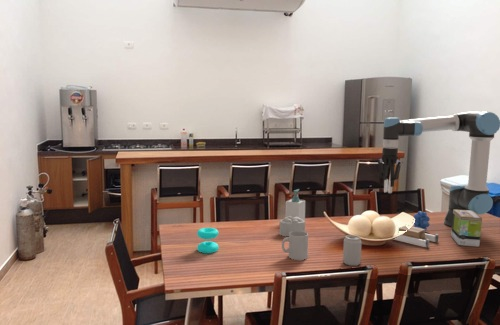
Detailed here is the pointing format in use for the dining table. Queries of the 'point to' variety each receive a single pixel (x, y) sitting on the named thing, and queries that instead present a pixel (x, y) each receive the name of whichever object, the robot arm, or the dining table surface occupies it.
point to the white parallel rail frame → (419, 240)
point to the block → (413, 232)
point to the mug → (297, 245)
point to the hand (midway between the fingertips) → (387, 192)
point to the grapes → (421, 220)
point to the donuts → (207, 245)
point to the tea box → (466, 227)
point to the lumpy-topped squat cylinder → (291, 225)
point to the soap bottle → (295, 207)
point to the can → (352, 250)
